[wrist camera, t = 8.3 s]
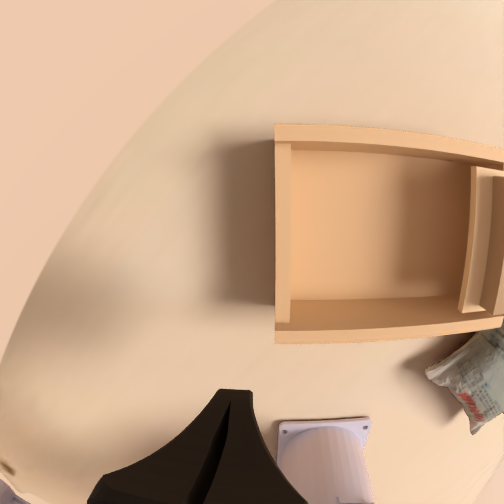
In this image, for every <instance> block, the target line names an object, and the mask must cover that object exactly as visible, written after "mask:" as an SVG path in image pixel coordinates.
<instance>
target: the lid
mask: <svg viewBox="0 0 504 504" xmlns="http://www.w3.org/2000/svg"><path fill="white" fill-rule="evenodd" d="M457 309H458V310H459V311H460V312H461V313H467V312H477V311H485V310H486V311H488V312H489V313H490V314H492V315H499V314H504V171H500V170H495V169H489V168H483V167H477V166H471V198H470V218H469V232H468V242H467V252H466V260H465V267H464V274H463V281H462V287H461V293H460V298H459V303H458V308H457Z"/></svg>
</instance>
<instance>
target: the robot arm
mask: <svg viewBox="0 0 504 504" xmlns="http://www.w3.org/2000/svg"><path fill="white" fill-rule="evenodd" d="M371 424H372V420H371V418H369V417H364V418H353V419H340V420H323V421H284V422H281V423H280V424H279V435H278V453H277V464H276V463H275V461H274V459H273V458H272V456H271V454H270V452H269V450H268V448H267V446H266V444H265V442H264V440H263V438H262V435H261V433H260V430H259V427H258V424H257V421H256V418H255V414H254V409H253V392H251V391H250V390H234V389H219V390H218V391H217V392H216V394H215V395H214V396H213V398H212V399H211V400H210V402H209V403H208V404H207V405H206V407H205V408H204V409H203V410H202V411H201V413H200V414H199V415H198V416H197V417H196V418H195V419H194V420H193V421H192V422H191V423H190V424H189V425H188V426H187V427H186V428H185V429H184V430H183V431H182V432H181V433H180V434H179V435H178V436H176V437H175V438H174V439H173V440H171V441H170V442H169V443H168V444H166V445H165V446H163V447H162V448H160V449H159V450H157V451H156V452H154V453H153V454H151V455H150V456H148V457H146V458H144V459H142V460H140V461H138V462H136V463H134V464H132V465H130V466H128V467H125V468H123V469H120V470H117V471H114V472H111V473H108V474H105V475H103V476H102V478H101V479H100V480H99V481H98V483H97V484H96V486H95V488H94V489H93V491H92V493H91V495H90V497H89V498H88V500H87V504H376V503H375V499H374V495H373V490H372V486H371V482H370V478H369V473H368V469H367V465H366V461H365V457H364V453H363V450H364V447H365V444H366V440H367V437H368V434H369V431H370V427H371ZM364 426H365V427H364ZM283 430H286V431H283ZM0 504H30V503H29V502H27V501H25V500H23V499H22V498H20V497H19V496H17V495H15V493H14V491H13V490H12V489H11V488H10V487H9V486H8V485H7V484H6V483H5V482H4V481H2V480H1V479H0Z"/></svg>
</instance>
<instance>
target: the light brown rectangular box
mask: <svg viewBox="0 0 504 504" xmlns="http://www.w3.org/2000/svg"><path fill="white" fill-rule="evenodd" d="M274 143H275V222H276V279H275V344H331V343H356V342H374V341H389V340H402V339H413V338H424V337H433V336H442V335H451V334H458V333H466V332H473V331H480V330H486V329H493V328H499V327H501V326H502V322H503V318H504V315H502V314H499V315H492V314H490V313H489V312H488V311H486V310H485V311H477V312H467V313H461V312H460V311H459V310H458V309H457V308H458V303H459V298H460V293H461V287H462V281H463V274H464V267H465V260H466V252H467V242H468V232H469V218H470V198H471V166H477V167H483V168H489V169H495V170H500V171H504V149H502V148H497V147H493V146H489V145H484V144H479V143H475V142H470V141H464V140H459V139H453V138H448V137H442V136H435V135H429V134H422V133H414V132H406V131H398V130H389V129H378V128H367V127H353V126H336V125H310V124H274Z"/></svg>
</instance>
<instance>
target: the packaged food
mask: <svg viewBox="0 0 504 504" xmlns="http://www.w3.org/2000/svg"><path fill="white" fill-rule="evenodd" d="M502 315H504V314H502ZM424 373H425V375H426V377H427V378H428V380H430V381H432V382H433V383H435V384H437V385H438V386H446V387H447V388H448V389H449V390H450V391H451V393H452V394H453V396H455V398H456V399H457V400H458V401H459V402H460V403H461V404H462V405H463V406H464V411H465V413H466V414H467V416H468V417H469V421H470V432H471V434H472V435H474V434H475V433H476V432H477V431H478V430H479V429H480V428H481V427H482V426H483V425H484V424H485V423H486V422H488V421H490V420H492V419H493V418H495V417H496V416H498V415H499V414H501V413H502V412H503V414H504V318H503V322H502V326H501V327H499V328H493V329H486V330H480V331H477V332H476V333H475V334H474V335H473V337H472V338H471V339H469V340H468V341H467V342H466V344H464V345H463V346H462V347H461V348H460V349H459V350H457V351H455V352H454V353H453V354H451V355H450V356H449V357H447V358H446V359H444V360H442V361H441V362H440V363H437V364H433V365H432V366H429V367H428V368H425V369H424Z"/></svg>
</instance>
